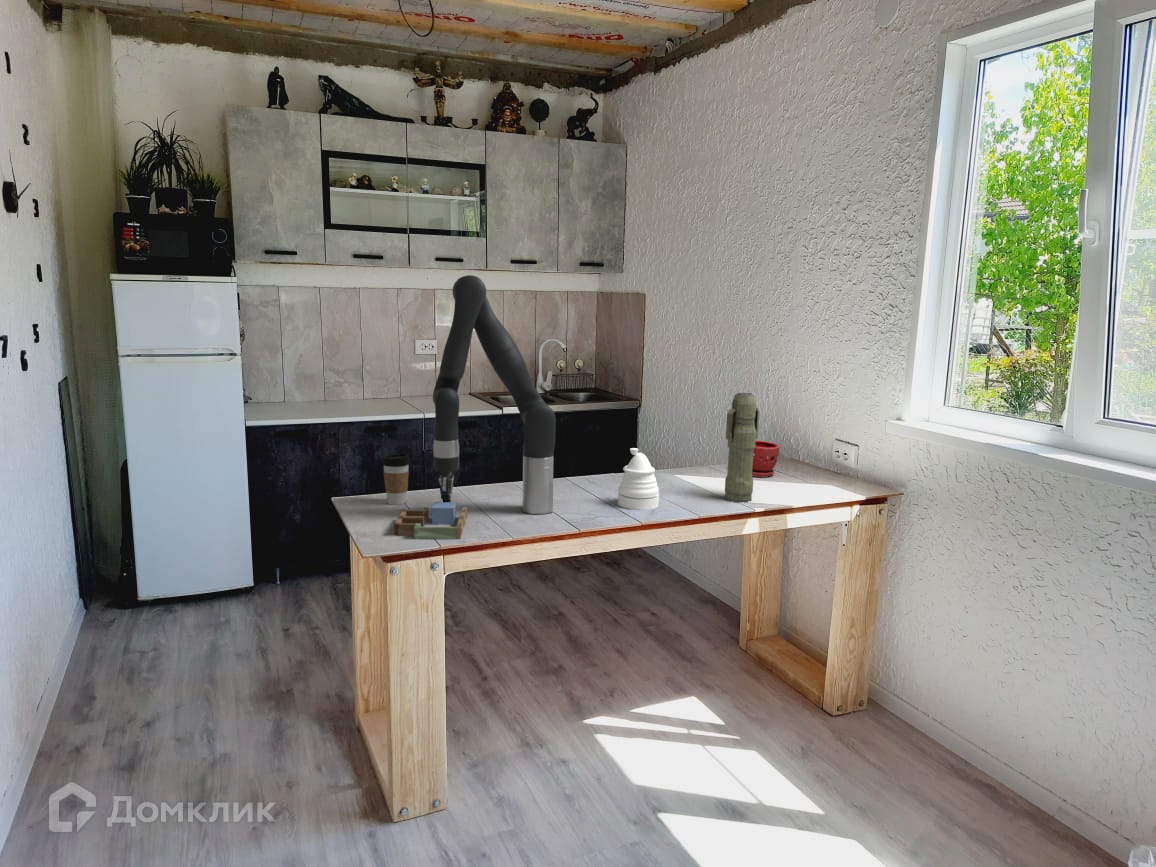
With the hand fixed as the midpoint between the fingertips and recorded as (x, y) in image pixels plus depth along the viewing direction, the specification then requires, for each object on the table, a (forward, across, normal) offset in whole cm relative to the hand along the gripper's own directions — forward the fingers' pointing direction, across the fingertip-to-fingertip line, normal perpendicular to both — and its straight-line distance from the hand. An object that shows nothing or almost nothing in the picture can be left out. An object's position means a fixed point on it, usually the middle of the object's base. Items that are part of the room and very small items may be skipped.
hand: (446, 511), depth 233 cm
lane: (+1, -13, +3) cm, 13 cm away
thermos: (+1, +20, -93) cm, 95 cm away
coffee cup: (+1, +13, +17) cm, 21 cm away
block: (+1, -7, 0) cm, 7 cm away
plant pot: (+1, +55, -110) cm, 123 cm away
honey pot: (+1, +13, -59) cm, 60 cm away
